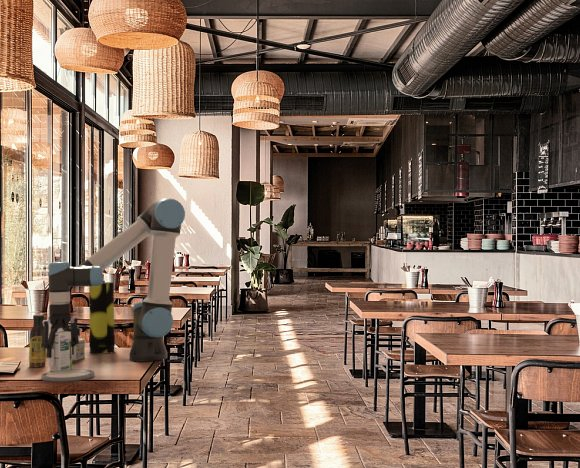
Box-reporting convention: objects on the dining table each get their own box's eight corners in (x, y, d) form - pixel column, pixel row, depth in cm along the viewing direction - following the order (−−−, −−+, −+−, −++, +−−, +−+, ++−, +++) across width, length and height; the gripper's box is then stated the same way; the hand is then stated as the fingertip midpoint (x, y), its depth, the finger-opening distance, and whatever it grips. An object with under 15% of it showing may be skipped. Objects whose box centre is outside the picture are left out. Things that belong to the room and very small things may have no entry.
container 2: (117, 350, 337) (116, 282, 337) (112, 353, 326) (111, 283, 326) (92, 350, 336) (91, 282, 337) (86, 354, 326) (86, 283, 326)
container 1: (76, 360, 309) (75, 328, 309) (58, 360, 310) (58, 328, 310) (85, 357, 316) (84, 326, 316) (67, 357, 318) (67, 326, 318)
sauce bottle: (30, 368, 291) (29, 316, 291) (27, 365, 296) (27, 314, 297) (48, 366, 294) (47, 315, 294) (45, 364, 299) (44, 313, 300)
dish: (99, 372, 279) (99, 368, 279) (86, 381, 261) (86, 377, 261) (50, 373, 279) (50, 369, 279) (34, 382, 261) (34, 378, 261)
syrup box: (60, 372, 280) (59, 332, 280) (49, 371, 283) (48, 331, 284) (72, 369, 285) (71, 331, 285) (61, 368, 288) (60, 330, 288)
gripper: (78, 301, 294) (79, 360, 294) (30, 304, 280) (31, 367, 280) (88, 301, 289) (89, 362, 288) (39, 305, 275) (40, 369, 275)
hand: (60, 365), depth 284 cm, fingers closed on syrup box, 6 cm apart
